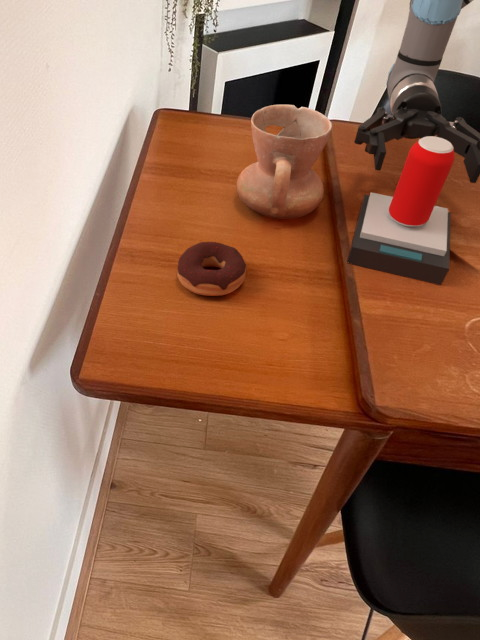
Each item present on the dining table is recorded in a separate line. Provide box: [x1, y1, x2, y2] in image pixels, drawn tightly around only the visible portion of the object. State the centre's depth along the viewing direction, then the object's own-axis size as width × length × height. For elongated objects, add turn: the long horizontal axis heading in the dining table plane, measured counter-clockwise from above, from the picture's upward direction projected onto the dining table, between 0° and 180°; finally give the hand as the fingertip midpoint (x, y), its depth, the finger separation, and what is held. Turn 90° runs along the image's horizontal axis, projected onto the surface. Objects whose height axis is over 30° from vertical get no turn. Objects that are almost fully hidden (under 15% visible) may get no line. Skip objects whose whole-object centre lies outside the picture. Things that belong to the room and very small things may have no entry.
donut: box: [176, 241, 247, 297], centre depth 75 cm, size 10×10×4 cm
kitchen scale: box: [346, 191, 452, 286], centre depth 83 cm, size 16×14×4 cm
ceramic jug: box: [236, 104, 333, 220], centre depth 85 cm, size 18×14×14 cm
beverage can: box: [389, 136, 456, 227], centre depth 77 cm, size 6×6×12 cm
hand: (428, 167), depth 75 cm, fingers open, 13 cm apart
